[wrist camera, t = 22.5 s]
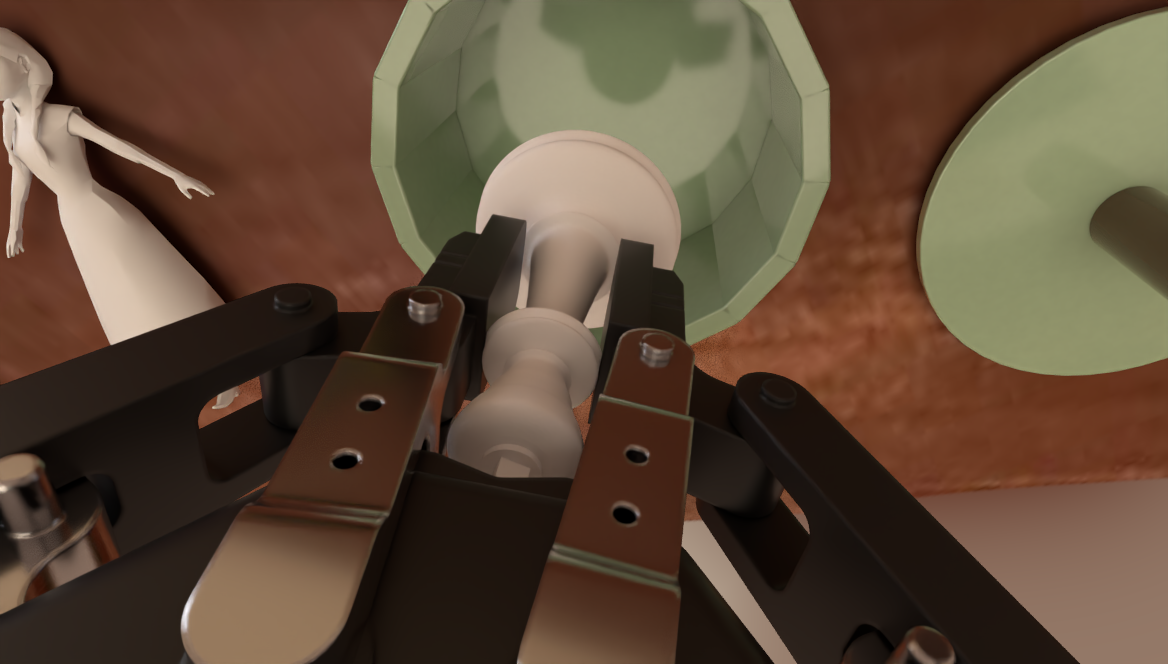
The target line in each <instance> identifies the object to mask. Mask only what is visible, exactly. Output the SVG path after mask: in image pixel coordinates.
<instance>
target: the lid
mask: <svg viewBox="0 0 1168 664" xmlns="http://www.w3.org/2000/svg"><path fill="white" fill-rule="evenodd" d="M916 260H917V265H918V271H919V277H920V281H921V284H922V286H923V289H924V292H925V295H926V297H927V299H928V301H929V303H930V304H931V306H932V308H933V310H934V311H935V313H936V315H937V316H938V318H939V319H940V320H941V322H942V323H943V324H944V325H945V326H946V328H947V329H948V330H949V331H950V332H951V333H952V334H953V335H954V336H955V337H956V338H957V339H958V340H960V341H961V342H962V343H963V344H964V345H965V346H967V347H968V348H970V349H972V350H973V351H975V352H976V353H978V354H980V355H981V356H983V357H985V358H988V359H990V360H992V361H994V362H997V363H999V364H1001V365H1005V366H1008V367H1011V368H1015V369H1018V370H1022V371H1027V372H1033V373H1039V374H1048V375H1063V376H1072V375H1093V374H1101V373H1108V372H1116V371H1121V370H1125V369H1130V368H1134V367H1139V366H1143V365H1146V364H1149V363H1153V362H1156V361H1159V360H1162V359H1166V358H1168V7H1164V8H1159V9H1155V10H1151V11H1146V12H1142V13H1138V14H1134V15H1131V16H1128V17H1125V18H1122V19H1119V20H1117V21H1114V22H1111V23H1108V24H1105V25H1102V26H1100V27H1098V28H1096V29H1093V30H1091V31H1089V32H1087V33H1085V34H1083V35H1081V36H1078V37H1076V38H1074V39H1072V40H1070V41H1068V42H1066V43H1065V44H1063V45H1061V46H1060V47H1058V48H1056V49H1055V50H1053V51H1051V52H1050V53H1048V54H1046V55H1044V56H1043V57H1041V58H1039V59H1038V60H1037V61H1035V62H1034V63H1033V64H1031V65H1030V66H1029V67H1027V68H1026V69H1024V70H1023V71H1022V72H1020V73H1019V74H1018V75H1016V76H1015V77H1013V78H1012V79H1011V80H1010V81H1009V82H1008V83H1007V84H1005V85H1004V86H1003V87H1002V88H1001V89H1000V90H999V91H998V92H997V93H995V94H994V95H993V96H992V97H991V98H990V99H989V100H988V101H987V102H986V103H985V104H984V105H983V106H982V107H981V108H980V109H979V111H978V112H977V113H976V114H975V115H974V116H973V117H972V118H971V119H970V120H969V121H968V123H967V124H966V125H965V127H964V128H963V129H962V131H961V132H960V133H959V135H958V136H957V137H956V139H955V140H954V141H953V143H952V144H951V145H950V147H949V149H948V150H947V152H946V154H945V156H944V157H943V159H942V161H941V162H940V164H939V166H938V168H937V169H936V172H935V174H934V176H933V178H932V181H931V183H930V185H929V188H928V190H927V192H926V195H925V199H924V202H923V206H922V209H921V213H920V216H919V223H918V230H917V237H916Z"/></svg>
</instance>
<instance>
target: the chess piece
mask: <svg viewBox="0 0 1168 664" xmlns="http://www.w3.org/2000/svg"><path fill="white" fill-rule="evenodd" d="M492 214H496V215H501V216H506V217H512V218H517V219H522V220H526V222H527V228H526V238H525V246H524V255H523V263H522V272H521V280H520V288H519V294H518V299H517V303H516V307H517V308H519V309H518V310H515V311H512V312H510V313H508V314H506V315H504V316H502V317H501V318H499V319H498V320H497V321H496V322H495V323H494V324H493V325H492V326H491V327H490V328H489V330H488V331H487V334H486V340H485V347H484V350H483V354H482V366H483V371H484V374H485V377H486V379H487V381H488V383H489V385H490V387H489V388H488V389H487V390H486V391H485V392H483V393H481V394H480V395H478V396H477V397H476V398H474V399H473V400H472V401H471V402H470V403H469V404H468V405H467V406H466V407H465V408H464V409H463V410H462V411H461V412H460V413H459V414H458V416H457V417H456V419H455V420H454V422H453V423H452V425H451V428H450V430H449V433H448V437H447V452H448V457H449V458H451V459H453V460H456V461H458V462H461V463H463V464H465V465H468V466H470V467H473V468H475V469H478V470H480V471H482V472H485V473H487V474H490V475H493V476H496V477H566V478H571V479H574V476H575V473H576V470H577V467H578V463H579V460H580V457H581V454H582V450H583V447H584V443H583V439H582V435H581V431H580V428H579V425H578V422H577V420H576V418H575V417H574V413H573V410H572V409H573V408H575V407H577V406H578V405H580V404H581V403H583V402H584V401H585V400H586V399H587V398H588V397H589V396H590V395H591V393H592V392H593V391H594V389H595V386H596V383H597V380H598V372H599V367H600V362H601V357H602V352H601V349H600V346H599V344H598V342H597V340H596V338H595V337H594V335H593V334H592V333H591V331H590V330H589V329H588V328H598V327H603V326H604V320H605V315H606V310H607V304H608V299H609V294H610V290H611V285H612V280H613V275H614V270H615V265H616V260H617V255H618V250H619V245H620V241H621V238H622V239H627V240H633V241H638V242H643V243H648V244H654V255H653V267H656V268H662V269H667V270H673V267H674V263H675V260H676V258H677V254H678V251H679V246H680V240H681V220H680V213H679V208H678V205H677V201H676V198H675V196H674V193H673V191H672V189H671V187H670V185H669V183H668V182H667V180H666V178H665V177H664V175H663V174H662V173H661V171H660V170H659V169H658V168H657V167H656V166H655V164H654V163H653V162H652V161H651V160H650V159H649V158H647V157H646V156H645V155H644V154H643V153H641V152H640V151H639V150H637V149H636V148H634V147H633V146H631V145H629V144H628V143H626V142H624V141H622V140H619V139H617V138H615V137H612V136H609V135H606V134H602V133H598V132H593V131H586V130H563V131H556V132H551V133H547V134H544V135H540V136H538V137H535V138H533V139H531V140H529V141H527V142H525V143H523V144H521V145H520V146H518V147H517V148H515V149H514V150H513V151H511V152H510V153H509V154H508V155H507V156H506V157H505V158H504V159H503V160H502V161H501V162H500V163H499V164H498V165H497V167H496V168H495V169H494V171H493V172H492V174H491V175H490V177H489V179H488V181H487V183H486V185H485V188H484V190H483V193H482V196H481V200H480V205H479V208H478V213H477V219H476V233H478V234H481V233H482V231H483V229H484V228H485V226H486V224H487V222H488V221H489V219H490V217H491V216H492Z"/></svg>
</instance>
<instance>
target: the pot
mask: <svg viewBox="0 0 1168 664" xmlns="http://www.w3.org/2000/svg"><path fill="white" fill-rule="evenodd" d="M563 130H586V131H593V132H598V133H602V134H606V135H609V136H612V137H615V138H617V139H619V140H622V141H624V142H626V143H628V144H629V145H631V146H633V147H634V148H636V149H637V150H639V151H640V152H641V153H643V154H644V155H645V156H646V157H647V158H649V159H650V160H651V161H652V162H653V163H654V164H655V166H656V167H657V168H658V169H659V170H660V171H661V173H662V174H663V175H664V177H665V178H666V180H667V182H668V183H669V185H670V187H671V189H672V191H673V193H674V196H675V198H676V201H677V205H678V208H679V213H680V220H681V240H680V246H679V251H678V254H677V258H676V260H675V263H674V267H673V270H672V271H674V272H675V273H676V275H677V276H678V277H679V279H680V280H681V281H682V283H683V284H684V307H685V308H684V310H685V335H686V343H688V344H689V346H690V345H692V344H694V343H696V342H699V341H701V340H703V339H705V338H707V337H709V336H711V335H714V334H716V333H718V332H720V331H722V330H724V329H726V328H729V327H731V326H733V325H735V324H737V323H738V322H740V321H741V320H742V319H743V318H744V317H745V316H746V315H747V314H748V313H749V312H750V311H751V310H752V309H753V308H754V307H755V306H756V305H757V304H758V303H759V302H760V301H761V300H762V299H763V298H764V297H765V295H766V294H767V293H768V292H769V291H770V290H771V289H772V288H773V287H774V286H775V285H776V284H777V283H778V282H779V281H780V280H781V279H782V278H783V277H784V276H785V275H786V274H787V273H788V272H789V271H790V270H791V269H792V268H793V267H794V266H795V264H796V262H797V261H798V259H799V257H800V254H801V252H802V249H803V247H804V245H805V242H806V240H807V237H808V235H809V233H810V230H811V228H812V226H813V223H814V221H815V218H816V216H817V214H818V211H819V209H820V206H821V204H822V202H823V199H824V197H825V195H826V192H827V190H828V187H829V182H830V180H831V155H830V89H829V84H828V82H827V79H826V77H825V75H824V73H823V71H822V69H821V66H820V64H819V62H818V60H817V58H816V56H815V54H814V51H813V49H812V47H811V45H810V43H809V41H808V38H807V36H806V34H805V32H804V30H803V28H802V25H801V23H800V21H799V19H798V17H797V15H796V13H795V10H794V8H793V6H792V4H791V2H790V0H408V2H407V4H406V6H405V8H404V10H403V12H402V15H401V17H400V19H399V21H398V23H397V25H396V27H395V30H394V32H393V34H392V36H391V38H390V40H389V43H388V45H387V47H386V49H385V51H384V53H383V55H382V58H381V60H380V62H379V64H378V66H377V68H376V70H375V73H374V77H373V91H372V130H371V165H372V170H373V173H374V175H375V178H376V181H377V184H378V186H379V189H380V192H381V195H382V197H383V200H384V203H385V206H386V208H387V211H388V214H389V216H390V219H391V222H392V225H393V227H394V230H395V233H396V236H397V238H398V241H399V243H400V244H401V247H402V248H403V249H404V250H405V252H406V253H407V254H408V255H409V256H410V258H411V259H412V260H413V261H414V262H415V264H416V265H417V266H418V267H419V268H420V270H421V271H422V272H423V273H424V274H426V273H427V271H428V270H429V268H430V267H431V265H432V264H433V262H435V259H436V258H437V256H438V255H439V253H441V250H442V249H443V247H444V246H445V244H446V243H447V241H448V240H449V239H450V238H452V237H454V236H456V235H458V234H460V233H462V232H464V231H467V232H472V233H476V219H477V213H478V208H479V205H480V200H481V196H482V193H483V190H484V188H485V185H486V183H487V181H488V179H489V177H490V175H491V174H492V172H493V171H494V169H495V168H496V167H497V165H498V164H499V163H500V162H501V161H502V160H503V159H504V158H505V157H506V156H507V155H508V154H509V153H510V152H511V151H513V150H514V149H515V148H517V147H518V146H520V145H521V144H523V143H525V142H527V141H529V140H531V139H533V138H535V137H538V136H540V135H544V134H547V133H551V132H556V131H563ZM518 309H519V308H517V307H515V310H518ZM588 329H589V330H590V331H591V333H592V334H593V335H594V337H595V338H596V340H597V342H598V344H599V346H600V344H601V338H602V332H603V327H598V328H588Z"/></svg>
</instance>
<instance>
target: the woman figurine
mask: <svg viewBox="0 0 1168 664" xmlns="http://www.w3.org/2000/svg"><path fill="white" fill-rule="evenodd" d="M52 81H53V72H52V70H51V68H50V67H49V65H48V63H47V61H46V60H45V59H44V58H43V57H42V56H41V55H40V54H39V53H38V52H37V51H36V50H35V49H34V48H33V47H32V46H31V45H30V44H29V43H27V42H26V41H25V40H24V39H22V38H21V37H20V36H19V35H17V34H15V33H14V32H12V31H10V30H8V29H7V28H0V101H2V100H5V101H4V103H3V107H4V113H3V116H2V117H3V137H4V143H5V146H6V148H7V151H8V152H9V163H10V164H11V165H12V167H13V174H12V188H11V196H12V201H11V219H10V231H9V235H8V239H7V256H8V258H10V257H11V256H12V257H14V256H15V252H16V254H19V251H18V246H19V248H20V249H21V251H22V252H24V249H23V247H22V238H23V229H22V221H23V215H24V208H25V201H27V199H28V195H29V190H30V184H31V180H32V173H34V174H35V175H36V176H37V177H38V178H39V179H40V180H41V181H42V182H43V183H45V184H46V185H47V186H48V187H49V188H50V189H51V190H52V191H53V192H54V193H56V194H57V197H58V207H59V212H60V218H61V223H62V225H63V228H64V231H65V233H66V236H67V239H68V241H69V244H70V247H71V249H72V252H73V255H74V257H75V260H76V262H77V265H78V267H79V270H80V272H81V275H82V277H83V280H84V282H85V285H86V287H87V290H88V292H89V295H90V297H91V300H92V302H93V305H94V307H95V310H96V312H97V315H98V317H99V320H100V322H101V325H102V327H103V329H104V331H105V333H106V335H107V338H108V340H109V342H110V344H111V345H113V344H116V343H118V342H121V341H124V340H127V339H129V338H132V337H135V336H138V335H140V334H143V333H146V332H149V331H151V330H154V329H157V328H160V327H162V326H165V325H168V324H171V323H173V322H176V321H179V320H182V319H184V318H187V317H190V316H193V315H195V314H198V313H201V312H204V311H206V310H209V309H212V308H215V307H217V306H220V305H223V304H226V303H225V302H224V301H223V300H222V299H221V298H220V296H219V295H218V294H217V293H216V292H215V291H214V289H213V288H212V287H211V286H210V285H209V284H208V283H207V281H206V280H205V279H204V278H203V277H202V276H201V275H200V274H199V273H198V272H197V271H196V270H195V269H194V268H193V267H192V266H191V265H190V264H189V262H188V261H187V260H186V259H185V258H184V257H183V256H182V255H181V254H180V253H179V252H178V251H177V250H176V249H175V248H174V247H173V246H172V245H171V244H170V243H169V241H168V240H167V239H166V238H165V237H164V236H163V235H162V234H161V233H160V232H159V231H158V230H157V229H156V228H155V226H154V225H153V224H152V223H151V222H150V221H149V220H148V219H147V218H146V217H145V216H144V215H143V214H142V212H141V211H140V210H138V209H137V208H136V207H134V206H133V205H132V204H130V203H129V202H128V201H126V200H125V199H124V198H123V197H121V196H119V195H117V194H115V193H113V192H111V191H109V190H107V189H106V188H104V187H102V186H100V185H99V184H98V183H97V182H96V181H95V180H93V179H92V176H91V173H90V169H89V166H88V162H87V158H86V153H85V142H84V139H83V137H84V138H86V139H89V140H91V141H94V142H95V143H97V144H99V145H101V146H103V147H105V148H106V149H108V150H110V151H112V152H114V153H116V154H118V155H120V156H122V157H124V158H127V159H129V160H131V161H134V162H136V163H139V164H140V163H142V164H144V165H146V166H148V167H150V168H152V169H154V170H156V171H158V172H160V173H162V174H164V175H167V176H169V177H171V178H173V179H174V181H175V183H176V184H177V186H178V188H179V190H180V191H181V192H182V193H184V194H185V195H186V196H187V197H188V198H189V199H191V198H192V196H191V195H190V194H189V193H188V191H187V188H193V189H195V190H197V191H199V192H201V193H203V194H205V195H206V196H208V197H209V194H211V195H214V192H213V191H212V190H211V189H210V188H209V187H208V186H206V185H205V184H204V183H202V182H201V181H199V180H196V179H194V178H192V177H189V176H187V175H185V174H184V173H182V172H180V171H178V170H176V169H175V168H173V167H171V166H169V165H167V164H166V163H164V162H162V161H160V160H158V159H157V158H155V157H153V156H151V155H149V154H148V153H146V152H145V151H144V150H142V149H140V148H138V147H137V146H135V145H133V144H131V143H129V142H127V141H125V140H122V139H120V138H118V137H116V136H114V135H112V134H111V133H109V132H107V131H105V130H104V129H102V128H100V127H99V126H97V125H96V124H94V123H93V122H92V121H90V120H89V119H87V118H86V117H84V116H83V115H82V111H81V110H80V108H79V107H74V106H67V105H60V104H49V103H46V102H43V101H44V98H45V97H46V96H47V94H48V92H49V91H50V89H51V86H52ZM12 142H13V151H12V150H11V147H12ZM206 191H207V192H208V193H209V194H208V193H207V192H206ZM239 394H240V390H239V388H238V386H236V387H234V388H232V389H230V390H228V391H225V392H223V393H221V394H219V395H218V398H217V405H215V406H213V407H212V409H220V408H225V407H227V406H228V405H229V404H231V403H232V402H233V399H234V397H235V396H238V395H239Z"/></svg>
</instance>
